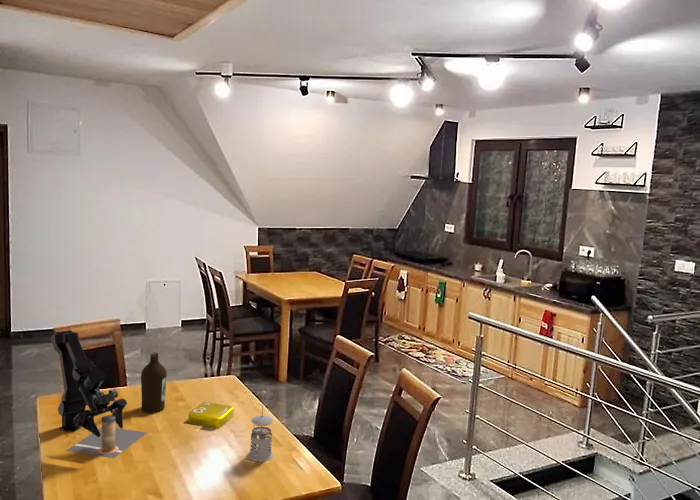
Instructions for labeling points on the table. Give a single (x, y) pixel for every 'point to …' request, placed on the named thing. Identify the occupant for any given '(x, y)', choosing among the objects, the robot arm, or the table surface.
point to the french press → (261, 438)
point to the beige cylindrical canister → (108, 433)
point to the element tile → (210, 415)
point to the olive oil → (153, 385)
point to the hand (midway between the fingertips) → (111, 432)
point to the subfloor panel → (94, 443)
